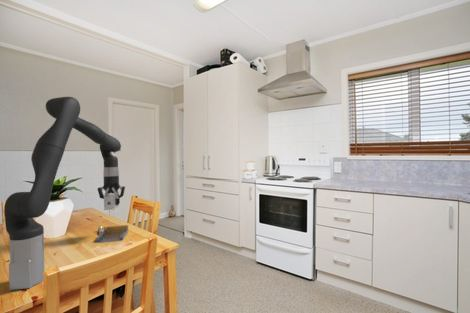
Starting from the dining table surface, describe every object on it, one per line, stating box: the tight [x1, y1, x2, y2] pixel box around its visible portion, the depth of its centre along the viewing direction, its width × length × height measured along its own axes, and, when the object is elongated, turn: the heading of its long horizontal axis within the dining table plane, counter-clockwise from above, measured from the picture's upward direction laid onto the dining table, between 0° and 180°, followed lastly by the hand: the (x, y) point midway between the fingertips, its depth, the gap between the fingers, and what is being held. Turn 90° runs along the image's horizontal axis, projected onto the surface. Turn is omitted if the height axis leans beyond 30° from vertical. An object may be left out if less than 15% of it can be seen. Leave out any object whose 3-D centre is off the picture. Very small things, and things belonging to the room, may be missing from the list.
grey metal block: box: [103, 193, 120, 211], centre depth 127 cm, size 10×5×7 cm, turn 13°
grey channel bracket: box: [94, 224, 129, 244], centre depth 127 cm, size 14×13×4 cm
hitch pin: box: [97, 226, 104, 235], centre depth 134 cm, size 7×3×3 cm, turn 33°
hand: (112, 205), depth 127 cm, fingers closed on grey metal block, 5 cm apart
